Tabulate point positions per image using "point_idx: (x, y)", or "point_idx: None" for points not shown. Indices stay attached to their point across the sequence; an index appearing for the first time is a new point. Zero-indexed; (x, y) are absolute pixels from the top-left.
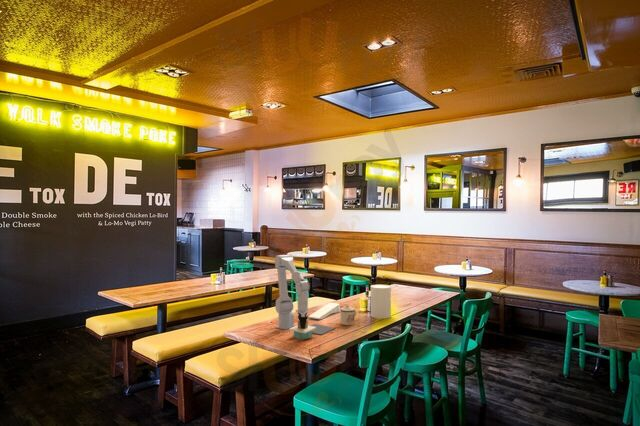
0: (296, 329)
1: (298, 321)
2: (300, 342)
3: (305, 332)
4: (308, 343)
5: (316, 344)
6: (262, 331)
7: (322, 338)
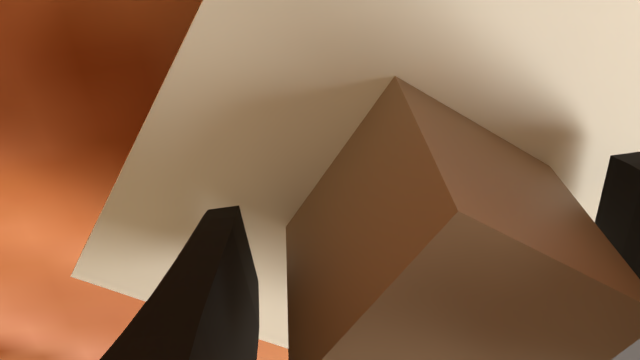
0: (257, 53)
1: (425, 232)
2: (10, 99)
3: (103, 273)
4: (10, 226)
5: (10, 321)
6: None
7: (288, 353)
